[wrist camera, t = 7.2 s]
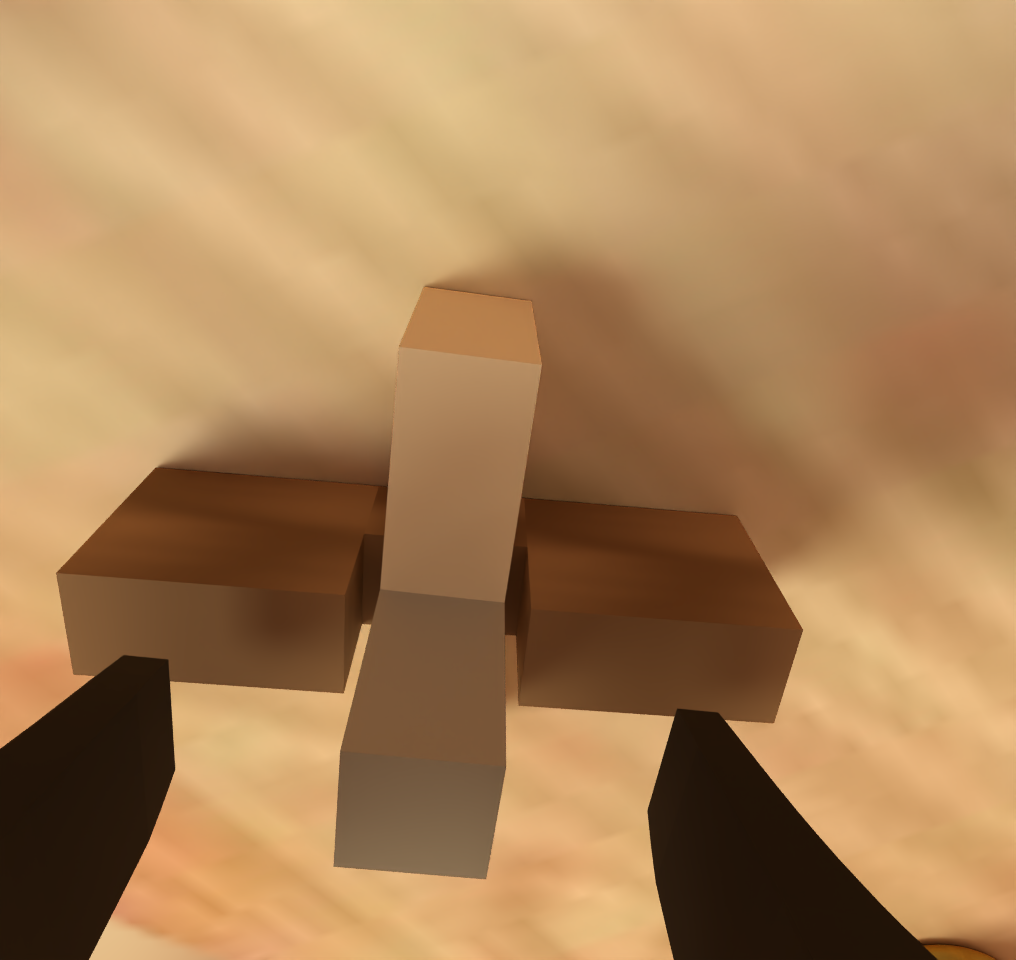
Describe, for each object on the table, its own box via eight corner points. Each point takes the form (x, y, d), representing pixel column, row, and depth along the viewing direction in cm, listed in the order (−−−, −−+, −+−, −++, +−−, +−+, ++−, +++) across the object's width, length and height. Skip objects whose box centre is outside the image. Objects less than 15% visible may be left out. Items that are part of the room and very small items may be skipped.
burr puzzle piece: (470, 716, 19) (454, 1057, 12) (386, 708, 19) (323, 1048, 12) (531, 301, 15) (559, 468, 8) (423, 286, 15) (358, 445, 8)
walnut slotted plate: (164, 552, 17) (73, 673, 13) (156, 467, 16) (56, 573, 12) (717, 595, 18) (773, 723, 14) (736, 515, 17) (803, 629, 13)
